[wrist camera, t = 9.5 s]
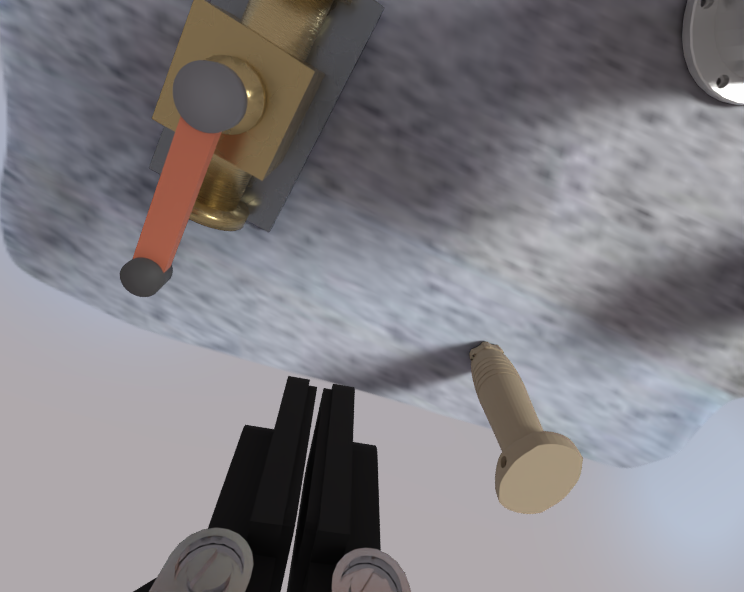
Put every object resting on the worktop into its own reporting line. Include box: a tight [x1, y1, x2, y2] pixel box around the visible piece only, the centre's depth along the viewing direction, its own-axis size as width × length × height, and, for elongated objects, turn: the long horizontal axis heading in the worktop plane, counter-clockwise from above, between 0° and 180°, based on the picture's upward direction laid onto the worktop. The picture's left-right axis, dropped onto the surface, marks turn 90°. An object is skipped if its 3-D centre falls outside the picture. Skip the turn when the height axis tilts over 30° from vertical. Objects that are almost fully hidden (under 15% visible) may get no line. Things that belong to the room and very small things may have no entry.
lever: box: [120, 60, 247, 297], centre depth 23 cm, size 13×3×2 cm, turn 151°
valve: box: [149, 0, 384, 232], centre depth 28 cm, size 18×10×11 cm, turn 149°
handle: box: [469, 342, 583, 514], centre depth 36 cm, size 5×6×15 cm
